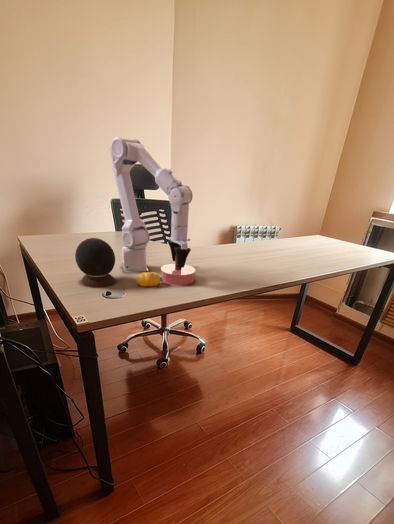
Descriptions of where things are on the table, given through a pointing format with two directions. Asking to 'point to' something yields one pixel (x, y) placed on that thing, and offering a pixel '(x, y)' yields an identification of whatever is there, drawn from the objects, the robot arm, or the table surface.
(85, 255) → the dark ball on stand
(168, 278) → the pot
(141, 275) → the yellow rounded oblong piece
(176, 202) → the robot arm
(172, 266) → the lid
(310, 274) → the table surface
